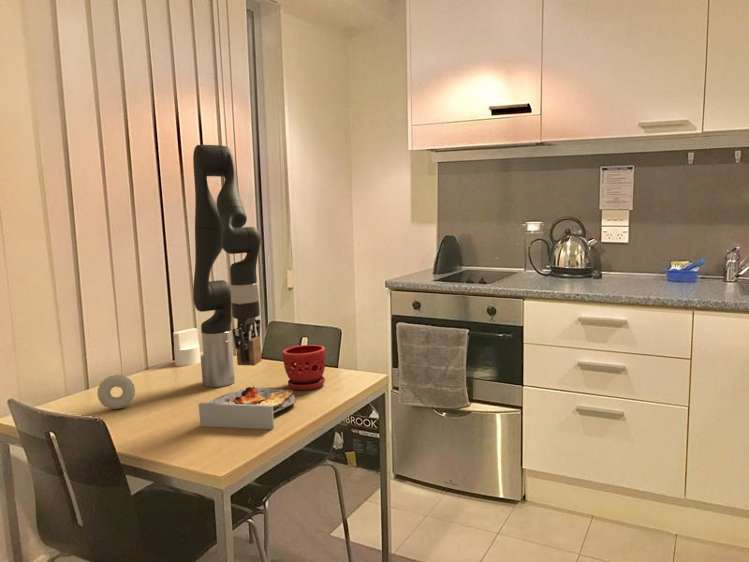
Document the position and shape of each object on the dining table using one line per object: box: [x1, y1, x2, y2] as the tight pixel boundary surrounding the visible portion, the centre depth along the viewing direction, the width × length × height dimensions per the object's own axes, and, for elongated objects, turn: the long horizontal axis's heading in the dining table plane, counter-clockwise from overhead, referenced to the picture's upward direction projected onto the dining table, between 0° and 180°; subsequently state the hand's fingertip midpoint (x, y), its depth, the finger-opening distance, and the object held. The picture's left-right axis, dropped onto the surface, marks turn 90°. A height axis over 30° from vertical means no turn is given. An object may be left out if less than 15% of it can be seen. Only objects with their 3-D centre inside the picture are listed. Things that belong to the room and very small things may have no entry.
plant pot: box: [282, 344, 326, 391], centre depth 187 cm, size 13×13×12 cm
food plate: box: [208, 386, 297, 414], centre depth 169 cm, size 25×23×4 cm
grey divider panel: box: [198, 402, 275, 430], centre depth 154 cm, size 20×1×6 cm, turn 78°
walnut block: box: [235, 336, 262, 367], centre depth 167 cm, size 5×5×7 cm
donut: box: [97, 374, 136, 410], centre depth 171 cm, size 10×4×10 cm, turn 110°
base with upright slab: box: [172, 327, 201, 367], centre depth 220 cm, size 9×9×12 cm
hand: (249, 359), depth 167 cm, fingers closed on walnut block, 5 cm apart
